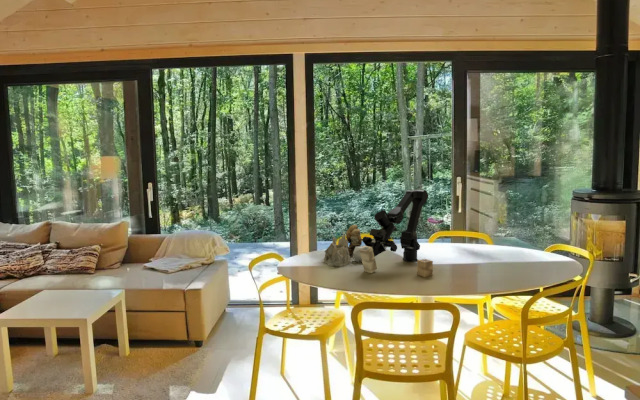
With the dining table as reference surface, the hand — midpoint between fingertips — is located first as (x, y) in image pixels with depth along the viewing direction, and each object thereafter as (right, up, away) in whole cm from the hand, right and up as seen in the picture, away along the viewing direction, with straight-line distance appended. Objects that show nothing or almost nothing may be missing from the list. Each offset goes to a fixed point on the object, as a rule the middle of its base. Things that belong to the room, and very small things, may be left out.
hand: (371, 257), depth 222 cm
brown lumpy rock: (-4, -3, +41) cm, 41 cm away
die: (-3, -5, +22) cm, 23 cm away
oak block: (+25, -7, -7) cm, 27 cm away
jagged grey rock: (-17, -5, +21) cm, 27 cm away
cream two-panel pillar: (0, -6, 0) cm, 6 cm away
